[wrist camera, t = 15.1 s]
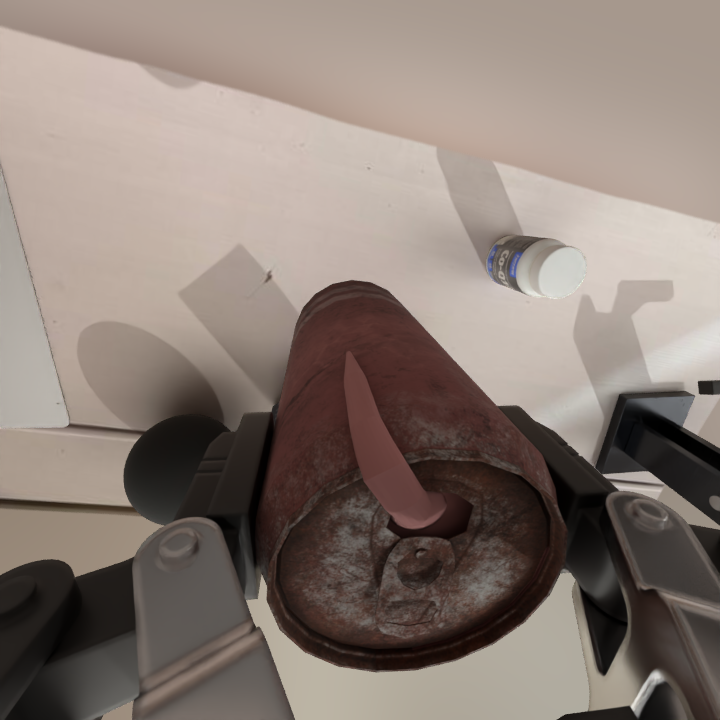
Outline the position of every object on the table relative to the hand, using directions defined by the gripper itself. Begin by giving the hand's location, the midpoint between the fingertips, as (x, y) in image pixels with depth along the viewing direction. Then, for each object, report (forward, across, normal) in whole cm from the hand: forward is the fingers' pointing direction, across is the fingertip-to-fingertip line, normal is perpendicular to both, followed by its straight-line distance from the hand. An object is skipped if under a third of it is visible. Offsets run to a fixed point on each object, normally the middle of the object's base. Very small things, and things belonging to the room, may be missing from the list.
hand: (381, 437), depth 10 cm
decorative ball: (+25, +14, +17) cm, 34 cm away
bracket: (+26, -39, +18) cm, 50 cm away
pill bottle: (+26, -17, -2) cm, 31 cm away
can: (+10, 0, 0) cm, 10 cm away
